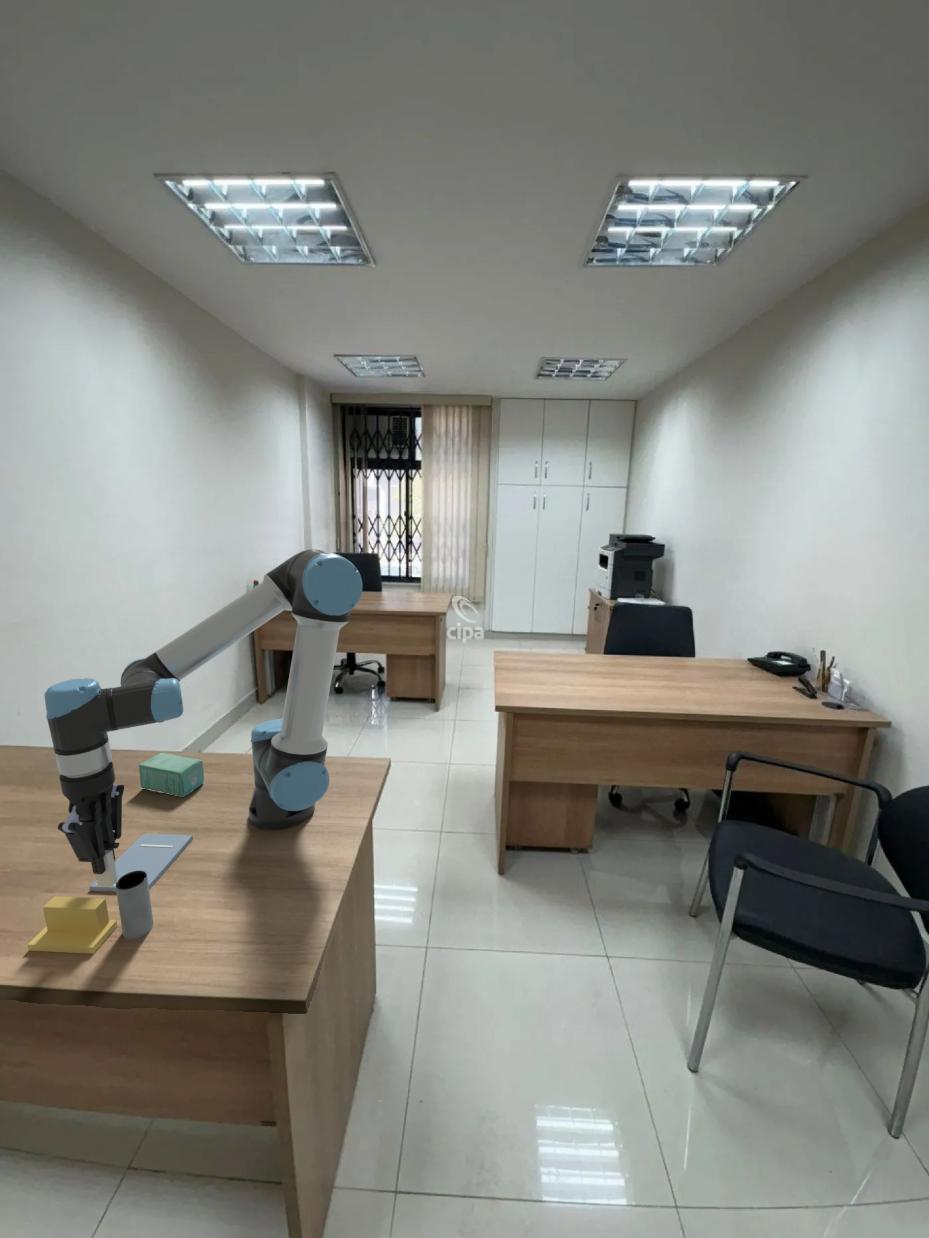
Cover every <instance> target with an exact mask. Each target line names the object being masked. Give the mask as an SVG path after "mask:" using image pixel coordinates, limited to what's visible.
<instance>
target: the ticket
mask: <svg viewBox="0 0 929 1238" xmlns="http://www.w3.org/2000/svg"><path fill="white" fill-rule="evenodd" d="M193 837H194V836H193V835H191V834H169V833H168V834H167V833H143V834H142V835H141V836H139V838H138V839H137V840H136V841H135V842H133V843H132V844H131V845H130V846H129V847H128V848H127V849H126V850H125V851H124V852H123V853H122V854H121V855H120V856H119V857H118V858H117V859H115V868H116V873H117V879H118V880H119V879H120V878H121V877H122V876H124V875H125V874H127V873H130V872H133V871H144V872H146V874H147V878H148V885H149V890H151V888H152V887H154V885H155V884H156V883H157V882H158V880H159V879H160V878H161V877H162V875H164V873H165V872H167V870H168V869H169V867H170V866H172V864H173V863H174V862H175V860H176V859H177V858H178V857H179V856H180V855H181V854H182V853H183V852H184V850H185V849H187V847H188V845H189V844H190V843H191V842H192V841H193V840H194V838H193ZM88 888H89V891H91V892H111V893H112V892H113V893H114V892H115V893H117V892H116V883H115V884H114V885H113V886H98V885H97V880H96V879H95V880H94V881H93V882H92V883H91V884H90V885H89V886H88Z"/></svg>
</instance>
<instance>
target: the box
mask: <svg viewBox="0 0 929 1238" xmlns="http://www.w3.org/2000/svg"><path fill="white" fill-rule="evenodd" d="M203 765H204V764H203V761H202V760H201V759H198V758H193V757H185V756H182V755H181V756H180V755H176V754H170V753H167V752H166V753H165V752H160V753H158V754H156V755H154V756H152V757H151V758H148V759H146V760H145V761H142V762H140V763H139V764H138V769H139V770H138V772H139V780H140V781H139V782H140V788H141V787H142V788H145V789H151V790H155V791H161V792H164V793H169V794H172V795H177V796H180V797H179V798H181V797H184V796H186V795H187V794H188V793H190V792H191V791H192V790H193V789H195V788H196V787H198V786H199V785H201V784H202V783H203V782H204V783H205V780H204V777H205V775H204V766H203ZM204 783H203V784H204ZM203 784H202V785H203ZM202 785H201V786H202ZM198 788H199V787H198ZM195 790H196V789H195ZM192 792H193V791H192ZM192 792H191V793H192ZM191 793H190V794H191ZM188 795H189V794H188ZM188 795H187V796H188ZM187 796H186V797H187ZM184 798H185V797H184Z"/></svg>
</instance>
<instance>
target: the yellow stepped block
mask: <svg viewBox="0 0 929 1238" xmlns="http://www.w3.org/2000/svg"><path fill="white" fill-rule="evenodd" d="M107 904H108V903H107V899H106V898H99V897H80V896H79V897H78V896H75V897H74V896H59V895H58V896H56V895H55V896H53V897H52V898H51V899H50V900H49V901H47V903H45V905H44V906H42V909H43V913H44V919H45V927H43V929H42V930H41V931H40V932H39V933H37V935H36V936H34V937H33V939H32V940H31V941H30V942H28V943H27V949H28V951H31V952H50V953H51V952H53V953H70V954H72V953H73V954H74V953H75V954H91V955H92V954H93V955H94V954H95V953H96V952H97V951H98V949H99V948H100V947H101V946H102V945H103V943H104V942H105V941H106V940H107V939H108V938H109V937H110V936H111V935H112V933H113V932H114V931H115V930H116V928H117V927H118V922H117V920H115V919H110V917H109V910H108V905H107Z"/></svg>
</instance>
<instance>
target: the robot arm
mask: <svg viewBox="0 0 929 1238" xmlns="http://www.w3.org/2000/svg"><path fill="white" fill-rule="evenodd" d="M262 579H263V580H262V582H261V583H259V584H258V585H256V586H254V587H253V588H251V589H250V590H248V591H247V592H245V593H244V594H242V595H241V596H239V597H238V598H236V599H234V600H233V601H231V602H230V603H228V604H227V605H225V606H224V607H222V608H220V609H219V610H218V611H216V612H215V613H213V614H211V615H210V616H208V617H207V618H205V619H204V620H202V621H201V622H199V623H197V624H196V625H195V626H192V628H190V629H188V630H187V631H185V632H184V633H182V634H181V635H179V636H178V637H176V638H174V639H173V640H171V641H170V642H169V643H167V644H165V645H164V646H163V647H161V648H159V649H158V650H156V651H154V652H153V653H151V654H150V655H148V656H146V657H143V658H138V659H134V660H133V661H131V662H130V663H128V664H127V665H126V667H125V668H124V670H123V671H122V673H121V675H120V676H121V677H120V686H117V687H116V686H115V687H108V688H107V687H105V688H102V687H101V685H100V683H99V681H98V680H96V679H94V678H89V677H87V678H73V679H69V680H63V681H61V682H58V683H56V684H55V683H54V685H52V686H49V687H48V688H47V690H46V691H45V692H44V701H45V711H46V714H45V717H46V720H47V723H48V728H49V732H50V736H51V741H52V747H53V751H54V756H55V760H56V766H57V770H58V774H60V775H59V783H60V787H61V792H62V795H63V796H64V797H65V798H66V799H67V800H68V802H69V803H68V804H69V805H68V807H67V808H68V811H67V812H68V813H69V814H68V815H69V816H68V817H67V819H65V820H66V821H64V822H63V821H62V822H60V823H59V824H58V825H57V830H58V831H60V832H62V833H63V834H64V835H65V837H66V839H67V841H68V843H69V844H70V846H71V849H72V850H73V852H74V854H75V856H76V858H77V860H78V862H80V863H91V869H92V873H93V874H94V875H95V880H97V885H98V886H113V885H114V884H115V883H116V882H117V881H118V879H117V873H116V868H115V861H116V854H115V849H118V848H119V847H120V842H116V841H117V840H119V839H121V837H122V829H123V828H122V827H123V826H122V820H123V819H122V818H123V817H122V816H123V811H122V810H123V795H124V791H125V785H124V784H114V783H115V781H116V775H115V769H114V763H113V762H112V760H113V756H112V749H111V744H110V739H109V736H108V733H109V732H114V731H119V730H126V729H130V728H135V727H140V726H144V725H145V726H146V725H152V724H155V723H159V724H160V723H164V722H166V721H170V720H174V719H177V718H180V717H181V716H182V715H183V713H184V704H183V703H184V702H183V696H182V689H181V684H180V682H181V681H182V680H183V679H184V678H187V676H189V675H190V674H192V673H193V672H195V671H197V670H198V669H200V668H201V667H203V666H204V665H205V664H207V663H208V662H210V661H211V660H212V659H214V658H216V657H218V656H219V655H220V654H222V653H223V652H224V651H226V650H227V649H229V648H231V647H232V646H233V645H235V644H237V642H239V641H241V640H243V639H244V638H245V637H246V636H248V635H249V634H251V633H253V632H254V631H255V630H257V629H258V628H260V627H262V626H263V625H264V624H266V623H268V621H270V620H272V619H273V618H274V617H277V615H279V614H281V613H282V612H283V611H289V612H290V611H291V616H292V617H293V618H294V619H295V620H296V623H297V626H296V633H295V638H294V645H293V650H292V658H291V662H290V663H291V664H290V669H289V670H290V671H289V675H288V676H289V677H288V682H287V683H288V684H287V688H286V694H285V701H284V707H283V713H282V714H283V715H282V718H275V719H271V720H267V721H264V722H261V723H258V724H257V725H255V726H254V727H253V728H252V730H251V733H250V734H251V736H250V737H251V738H250V743H251V748H252V749H251V752H252V753H251V754H252V764H253V765H252V766H253V775H254V776H253V778H254V789H253V792H252V795H251V799H250V803H249V806H248V817H249V821H250V823H251V824H252V825H253V826H255V827H257V828H259V829H262V830H268V831H269V830H270V831H271V830H272V831H275V830H276V831H277V830H282V829H288V828H291V827H293V826H296V825H298V824H299V825H300V824H302V822H304V821H306V820H307V819H308V818H310V817H311V815H313V813H314V811H315V809H316V808H315V807H316V803H317V802H318V801H320V800H322V798H323V797H324V796H325V794H326V793H327V791H328V788H329V785H330V774H329V770H328V769H327V767H326V766H325V764H326V763H325V762H326V757H327V753H328V751H327V750H328V741H327V740H326V738H325V737H324V736H323V731H324V727H325V719H326V714H327V708H328V702H329V696H330V691H331V690H330V689H331V684H332V679H333V678H332V677H333V673H334V668H335V667H334V665H335V660H336V654H337V650H338V644H339V643H338V642H339V636H340V631H341V629H342V628H343V627H344V626H346V625H347V624H348V623H349V622H350V617H351V610H352V609H353V608H355V607H356V606H357V605H358V603H359V602H360V599H361V598H362V594H363V580H362V576H361V574H360V571H359V570H358V568H357V567H356V566H355V564H353V563H352V562H351V561H350V560H349V559H347V558H345V557H344V556H342V555H341V554H338V553H337V554H336V553H334V552H327V551H324V550H321V549H316V548H313V549H312V548H309V549H305V550H303V551H299V552H297V553H296V554H294V555H293V556H291V557H290V558H288V559H286V560H285V561H284V562H282V563H280V564H279V565H278V566H276V567H275V568H273V569H272V570H270V571H269V572H267V573H266V574H265V575H264V576H263V578H262Z"/></svg>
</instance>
